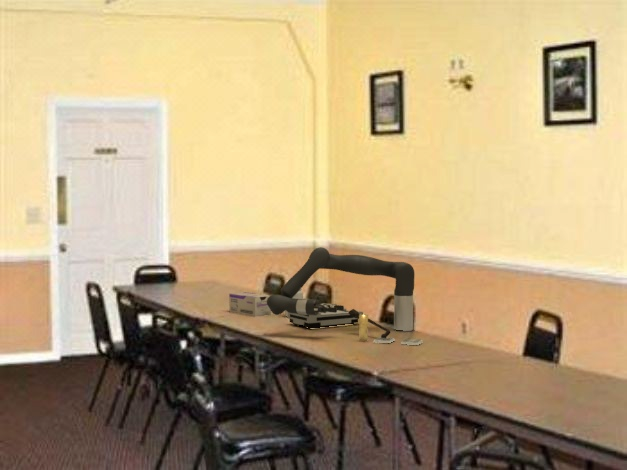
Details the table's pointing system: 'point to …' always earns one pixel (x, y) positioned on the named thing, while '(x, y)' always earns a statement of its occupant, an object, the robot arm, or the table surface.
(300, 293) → the jar
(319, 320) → the game console
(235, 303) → the surgical sutures box
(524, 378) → the table surface
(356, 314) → the wrench
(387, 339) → the metal plates
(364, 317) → the link pin
